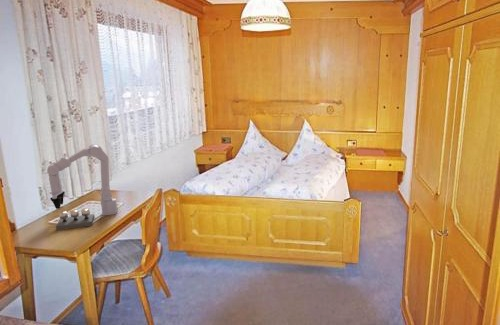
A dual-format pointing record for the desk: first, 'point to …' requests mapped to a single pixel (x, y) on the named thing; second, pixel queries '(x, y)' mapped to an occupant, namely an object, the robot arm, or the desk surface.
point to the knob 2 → (85, 212)
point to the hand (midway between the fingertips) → (59, 206)
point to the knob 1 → (63, 215)
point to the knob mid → (74, 214)
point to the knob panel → (75, 222)
